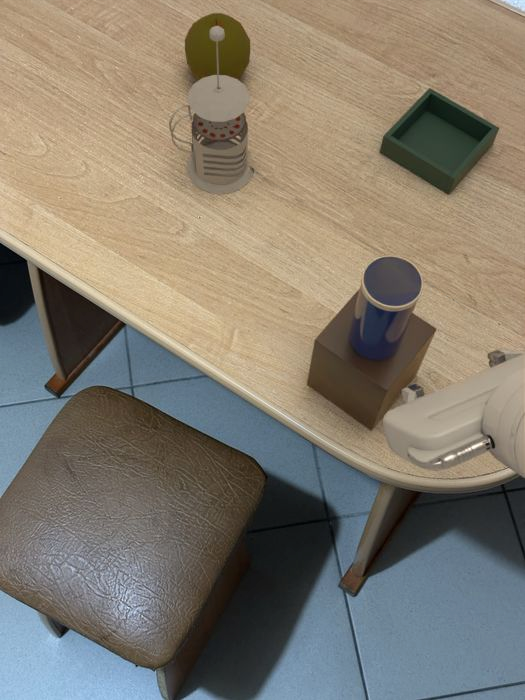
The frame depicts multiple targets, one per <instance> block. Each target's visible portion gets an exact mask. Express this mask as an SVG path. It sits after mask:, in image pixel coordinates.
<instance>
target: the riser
mask: <svg viewBox="0 0 525 700" xmlns="http://www.w3.org/2000/svg"><path fill="white" fill-rule="evenodd" d="M359 290H360V288H358V289H357V291H356V292H354V294H353V295H352V296H351V298H349V300H348V301H346V303H345V304H344V305H343V307H342V308H341V309H340V310H339V311H338V312H337V314H336V315H335V316H334V317H333V318H332V319H331V320H330V322H328V324H327V325H326V326H325V327H324V328H323V330H322V331H321V332H320V333H319V334H318V336H317V337H315V339H314V341H313V347H312V353H311V358H310V364H309V370H308V375H307V381H306V385H307V386H309V387H310V388H311V389H313V390H314V391H315V392H316V393H318V394H319V395H320V396H322V397H323V398H325V399H327V400H328V401H329V402H331V403H332V404H333V405H335V406H336V407H337V408H339V409H340V410H342V411H343V412H344V413H345V414H347V415H349V416H350V417H351V418H353V419H354V420H355V421H357V422H358V423H359V424H361V425H362V426H364V427H365V428H367V429H368V430H369V431H371V432H372V431H374V429H375V428H376V426H377V425H378V424H379V422H381V420H383V418H384V416H385V414H386V412H387V411H389V410H391V407H392V406H393V405H394V404H395V402H397V400H398V399H399V398H400V396H401V395H402V389H404V388H406V387H409V386H410V383H411V382H412V381H413V380H414V379H415V377H416V376H417V374H418V372H419V371H420V368H421V366H422V363H423V362H424V358H425V356H426V354H427V352H428V350H429V347H430V345H431V344H432V341H433V338H434V336H435V334H436V332H437V329H438V328H436V327H435V326H433V325H431V324H430V323H429V322H428V321H426V320H424V319H423V318H421V317H420V316H418V315H417V314H415V313H413V314H412V316H411V319H410V322H409V324H408V327H407V330H406V332H405V335H404V338H403V340H402V343H401V345H400V348H399V350H398V351H397V352H396V353H395V354H394V355H393V356H392V357H390V358H388V359H385V360H380V361H375V360H369V359H366V358H364V357H362V356H360V355H359V354H358V353H356V352H355V350H354V349H353V348H352V346H351V344H350V341H349V329H350V326H351V322H352V318H353V314H354V310H355V306H356V302H357V298H358V294H359Z"/></svg>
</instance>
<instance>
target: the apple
mask: <svg viewBox="0 0 525 700" xmlns="http://www.w3.org/2000/svg"><path fill="white" fill-rule="evenodd" d="M214 26H220V27H221V28H223V29H224V33H225V38H224V39H223V40H222V41H218V66H219V75H226V76H229V77H232V78H235V79H237V80H239V81H240V78H241V77H242V75H243V74H244V72H245V71H246V69H247V67H248V66H249V64H250V59H251V39H250V37H249V35H248V33H247V31H246V30H245V28H244V26H243V25H242V23H241V22H240V21H239V20H237V19H235V17H233V16H231V15H228V14H224V13H223V12H213V13H210V14H206V15H204V16H202V17H200V18H199V19H197V20H196V21H195V22H193V23H192V25H191V27H189V29H188V31H187V34H186V35H185V38H184V53H185V58H186V64H187V66H188V68H189V70H190V73H192V75H193V76H194V78H195V79H196V81H199V80H200V79H202V78H205V77H208V76H212V75H217V51H216V41H213V40H211V39H210V29H211V28H212V27H214Z"/></svg>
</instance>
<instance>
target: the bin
mask: <svg viewBox="0 0 525 700" xmlns="http://www.w3.org/2000/svg"><path fill="white" fill-rule="evenodd" d="M499 131H500V127H499V126H497V125H495V124H494V123H492V122H490V121H488V120H487V119H485V118H483V117H481V116H480V115H478V114H477V113H475V112H473V111H471V110H470V109H467V108H466V107H464V106H462V105H460V104H459V103H457V102H455V101H453V100H452V99H450V98H449V97H447V96H445V95H444V94H441V93H439V92H438V91H436V90H434V89H433V88H430V87H429V88H427V90H426V91H425V92H424V93H423V94H422V95H421V96H420V97H418V99H417V100H416V101H415V102H414V103H413V104H412V105H411V107H410V108H409V109H407V111H406V112H405V113H404V114H403V115H402V116H401V117H400V118H399V119H398V120H397V121H396V122H395V124H393V125H392V126H391V128H389V129H388V131H386V133H384V135H383V136H382V140H381V143H380V144H381V145H380V149H379V154H381V155H382V156H383V157H386V158H388V159H389V160H391V161H393V162H394V163H395V164H397V165H399V166H400V167H401V168H403V169H405V170H407V171H408V172H411V173H412V174H413V175H415V176H417V177H418V178H419V179H422V180H423V181H425V182H427V183H428V184H430V185H431V186H433V187H434V188H437V190H439V191H441V192H443V193H445V194H446V195H448V196H449V195H451V193H452V192H453V191H454V190H455V189H456V188H457V186H458V185H459V184H460V183H461V182H462V181H463V180H464V179H465V177H466V176H467V175H468V174H469V173H470V172H471V170H472V169H473V168H474V167H475V166H476V165H477V164H478V162H479V161H481V159H482V158H483V156H485V154H487V152H488V151H489V150H490V149H491V148H492V146H493V145H494V143H495V141H496V138H497V135H498V133H499Z"/></svg>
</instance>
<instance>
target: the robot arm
mask: <svg viewBox="0 0 525 700" xmlns="http://www.w3.org/2000/svg"><path fill="white" fill-rule="evenodd" d="M487 359H488V366H489V368H486V369H485V370H482V371H480V372H477V373H474V374H472V375H470V376H468V377H465V378H463V379H460V380H458V381H456V382H453V383H451V384H449V385H446V386H444V387H441V388H439V389H437V390H434V391H432V392H429V393H427V394H425V390H424V387H422V386H421V385H418V383H414V384H411V385H408V386H407V387H406V388H404V389H402V393H401V395H402V399H403V402H404V403H403V404H401V405H399V406H397V407H394V408H390V409H389V410H388V411H387V412H386V414H385V415H384V416H383V417H382V427H383V428H382V429H383V432H384V437H385V440H386V442H387V445H388V448H389V449H390V451H391V452H392V453H393V454H395V455H396V456H397V457H399V458H401V459H403V460H404V461H406V462H407V463H410V464H411V465H413V466H415V467H418V468H419V469H422V470H426V471H432V472H441V471H446V470H449V469H451V468H454V467H456V466H458V465H461V464H463V463H465V462H468V461H470V460H472V459H474V458H477V457H479V456H481V455H483V454H486V453H490V454H491V456H492V457H493V458H494V459H495V460H497V461H498V462H499V463H500V464H502V465H504V466H505V467H507V468H509V469H510V470H511V471H512V472H514V473H516V474H517V475H519V476H520V477H521V478H523V479H525V350H508V349H505V348H502V347H500V348H498V349H495V350H493V351H491V352H488V353H487Z"/></svg>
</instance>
